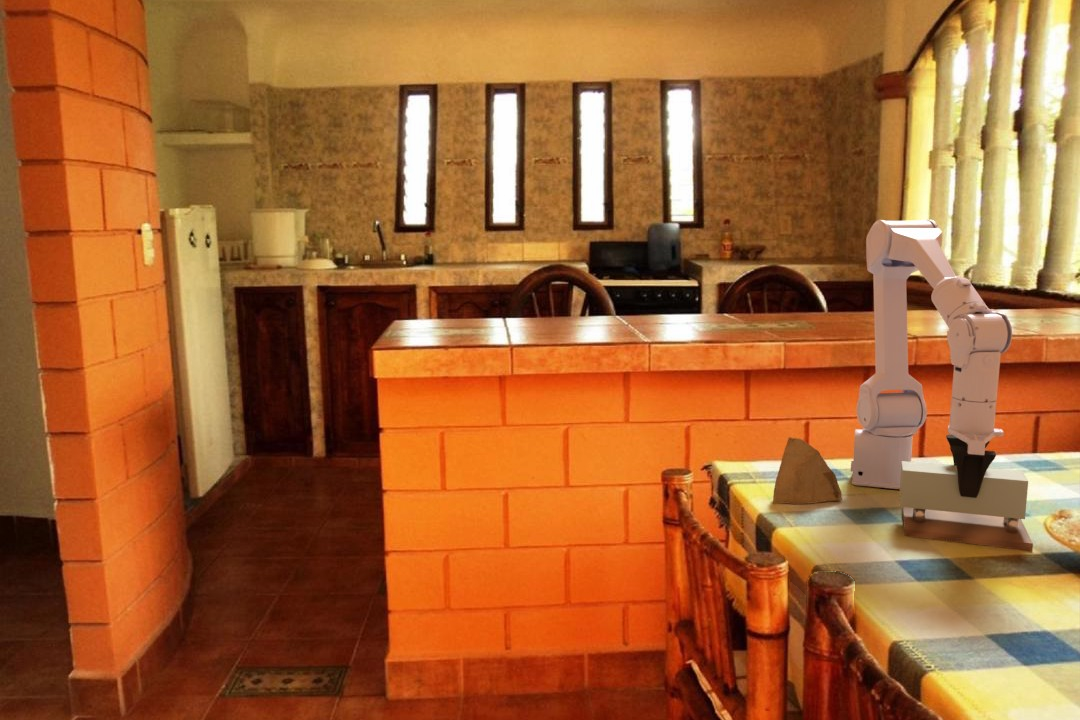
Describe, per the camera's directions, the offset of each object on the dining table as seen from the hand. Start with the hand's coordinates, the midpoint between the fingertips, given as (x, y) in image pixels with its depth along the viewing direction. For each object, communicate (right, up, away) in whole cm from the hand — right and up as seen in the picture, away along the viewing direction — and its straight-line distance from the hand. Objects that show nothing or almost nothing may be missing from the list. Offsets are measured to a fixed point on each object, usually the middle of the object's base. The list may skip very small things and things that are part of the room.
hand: (966, 490), depth 125 cm
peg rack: (0, -6, +1) cm, 6 cm away
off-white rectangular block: (-1, -3, +1) cm, 3 cm away
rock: (-19, -4, +14) cm, 24 cm away
